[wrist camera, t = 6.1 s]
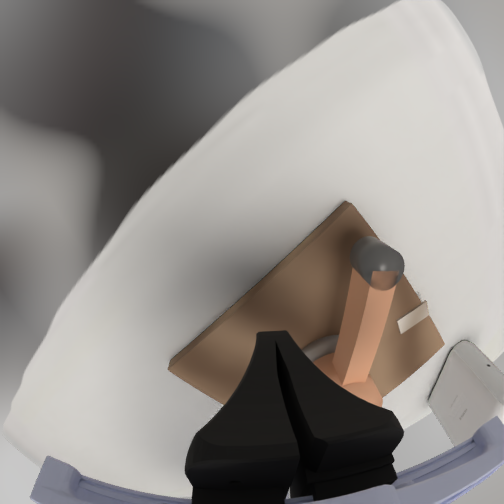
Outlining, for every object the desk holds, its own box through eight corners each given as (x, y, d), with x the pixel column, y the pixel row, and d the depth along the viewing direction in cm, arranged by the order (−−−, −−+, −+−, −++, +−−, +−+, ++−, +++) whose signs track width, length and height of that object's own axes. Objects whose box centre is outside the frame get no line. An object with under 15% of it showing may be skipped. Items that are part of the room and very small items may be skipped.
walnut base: (305, 436, 25) (308, 451, 23) (170, 360, 20) (165, 378, 18) (441, 334, 21) (452, 347, 19) (349, 196, 17) (362, 202, 15)
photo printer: (449, 343, 22) (512, 417, 10) (473, 334, 22) (533, 398, 10) (422, 404, 25) (461, 472, 14) (445, 394, 25) (486, 456, 14)
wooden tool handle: (354, 394, 20) (369, 429, 16) (295, 401, 19) (303, 440, 16) (398, 233, 15) (436, 255, 11) (322, 230, 15) (348, 253, 11)
